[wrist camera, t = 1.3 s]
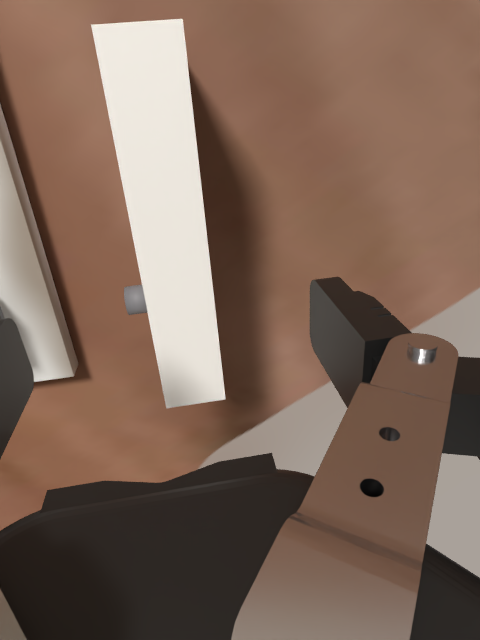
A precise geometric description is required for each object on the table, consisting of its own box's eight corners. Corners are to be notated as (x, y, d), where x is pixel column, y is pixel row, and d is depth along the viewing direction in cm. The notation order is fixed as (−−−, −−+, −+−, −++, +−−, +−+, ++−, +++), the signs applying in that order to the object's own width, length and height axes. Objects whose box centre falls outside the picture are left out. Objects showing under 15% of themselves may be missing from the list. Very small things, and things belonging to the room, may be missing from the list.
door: (178, 48, 22) (182, 19, 14) (211, 319, 30) (225, 399, 22) (96, 54, 22) (53, 27, 14) (150, 327, 29) (142, 411, 21)
